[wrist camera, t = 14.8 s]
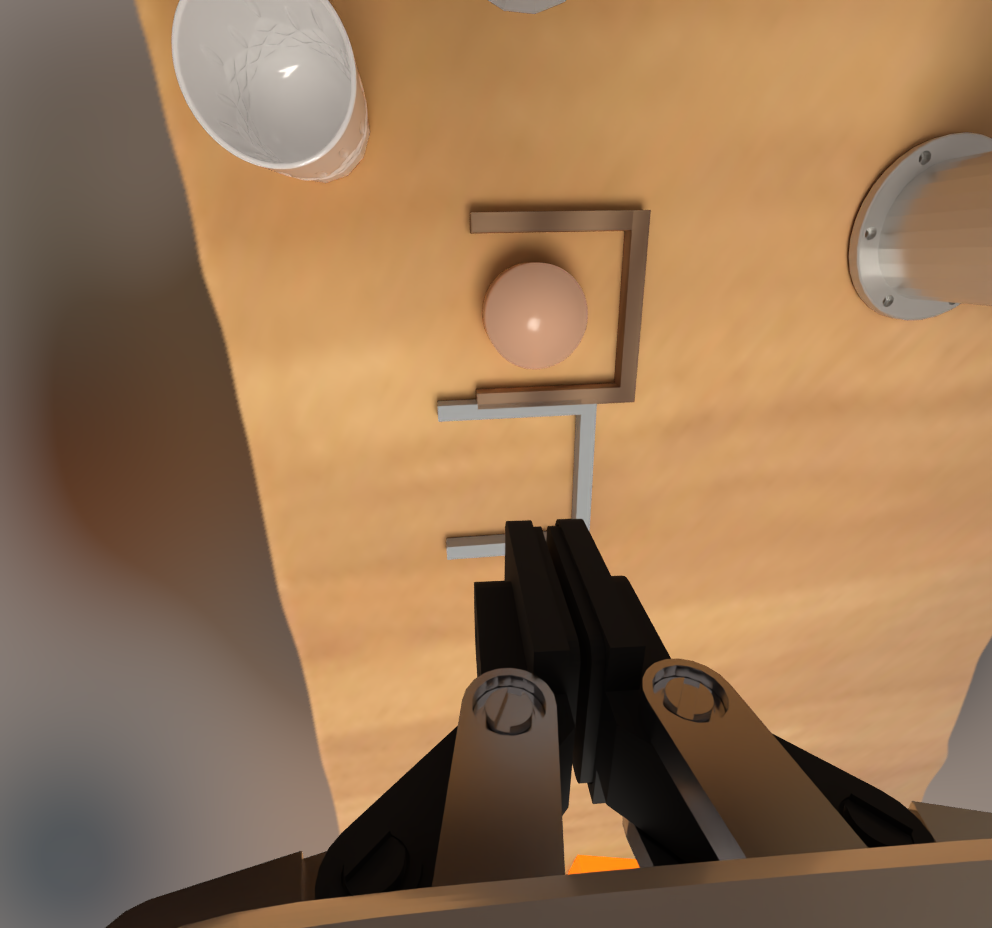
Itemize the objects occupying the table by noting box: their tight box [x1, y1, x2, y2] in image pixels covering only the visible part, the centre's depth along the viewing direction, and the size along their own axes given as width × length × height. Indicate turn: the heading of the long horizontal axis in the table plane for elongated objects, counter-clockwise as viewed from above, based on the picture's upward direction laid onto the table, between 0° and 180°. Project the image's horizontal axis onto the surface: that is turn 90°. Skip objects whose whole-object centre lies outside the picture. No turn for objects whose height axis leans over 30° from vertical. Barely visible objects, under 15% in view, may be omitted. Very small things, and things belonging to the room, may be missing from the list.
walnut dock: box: [470, 210, 651, 410], centre depth 37 cm, size 12×13×2 cm
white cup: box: [172, 0, 370, 183], centre depth 27 cm, size 8×8×10 cm
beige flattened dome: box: [482, 262, 588, 369], centre depth 36 cm, size 7×7×4 cm
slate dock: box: [438, 399, 597, 560], centre depth 42 cm, size 12×13×2 cm
